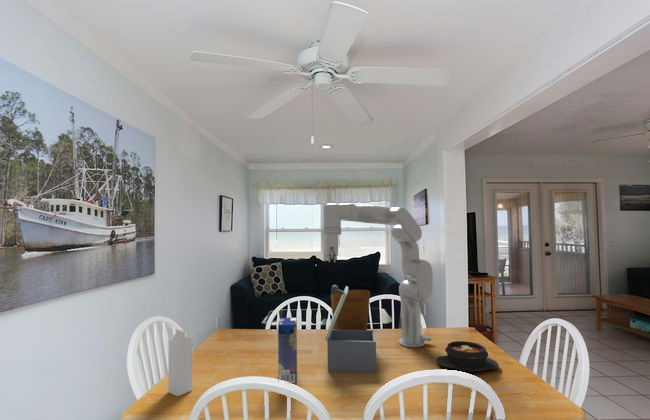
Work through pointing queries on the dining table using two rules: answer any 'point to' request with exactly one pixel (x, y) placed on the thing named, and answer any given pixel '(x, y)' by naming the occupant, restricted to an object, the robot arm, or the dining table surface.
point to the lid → (344, 294)
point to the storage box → (352, 350)
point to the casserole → (466, 357)
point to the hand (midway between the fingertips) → (333, 270)
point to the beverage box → (287, 349)
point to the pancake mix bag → (352, 310)
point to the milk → (180, 364)
